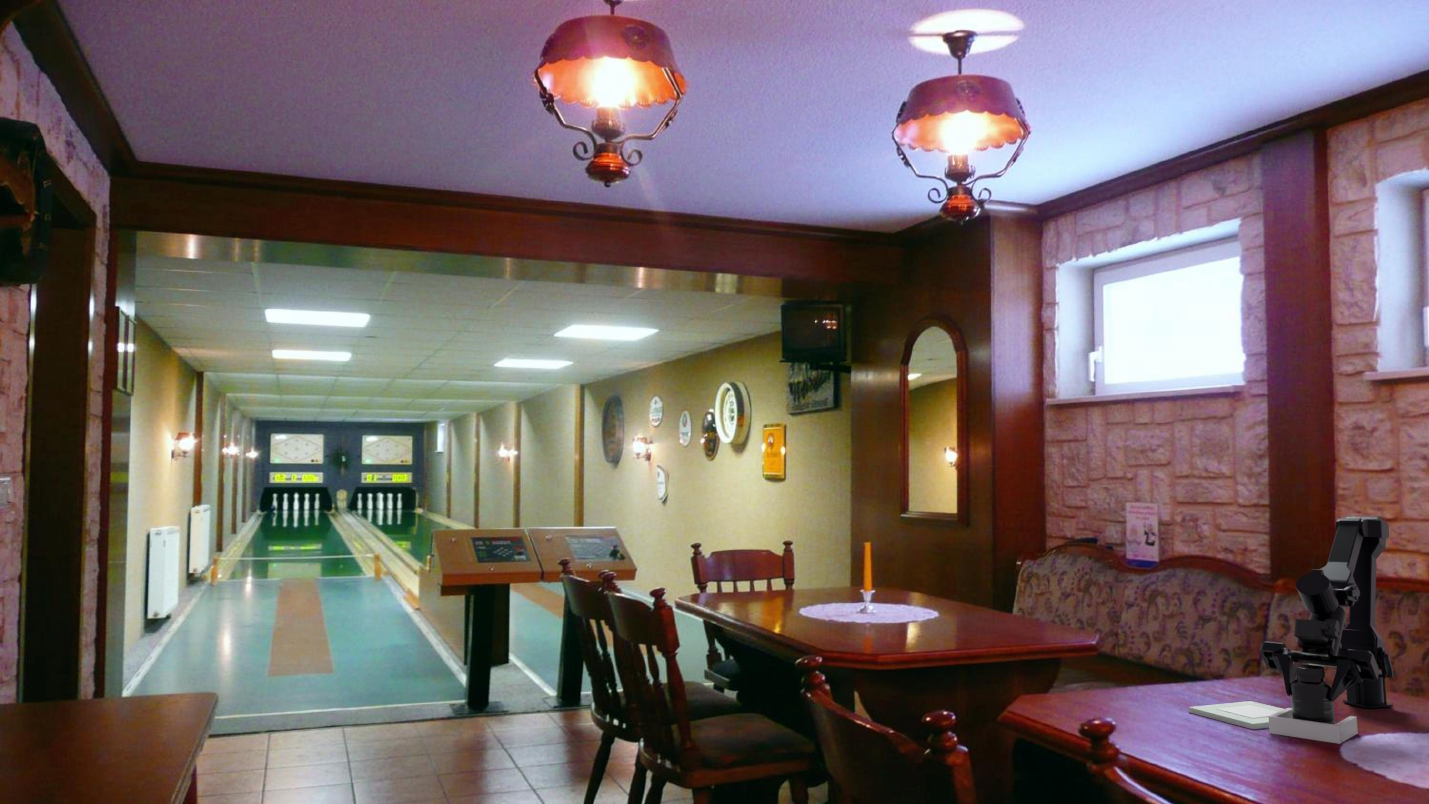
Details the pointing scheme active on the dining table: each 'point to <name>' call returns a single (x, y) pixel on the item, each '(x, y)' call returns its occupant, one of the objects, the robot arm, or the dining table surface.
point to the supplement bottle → (1311, 695)
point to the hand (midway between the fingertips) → (1309, 697)
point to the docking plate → (1239, 713)
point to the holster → (1312, 728)
